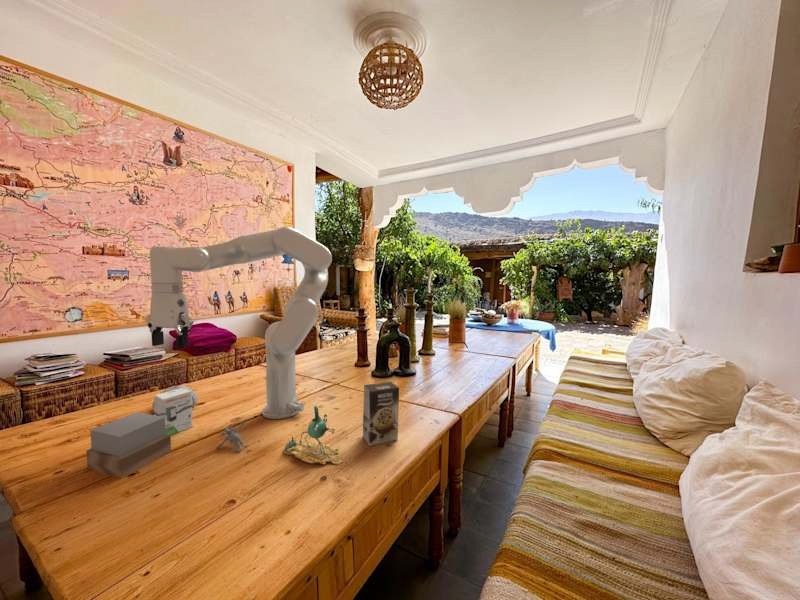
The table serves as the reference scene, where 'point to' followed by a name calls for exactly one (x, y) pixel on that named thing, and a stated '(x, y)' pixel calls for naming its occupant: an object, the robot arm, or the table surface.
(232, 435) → the elephant figurine
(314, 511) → the table surface
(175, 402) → the ink box
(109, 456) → the tower bottom
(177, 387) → the sea urchin shell
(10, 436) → the table surface
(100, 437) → the tower top
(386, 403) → the coffee box
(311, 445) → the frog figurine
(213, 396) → the table surface
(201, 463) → the table surface
